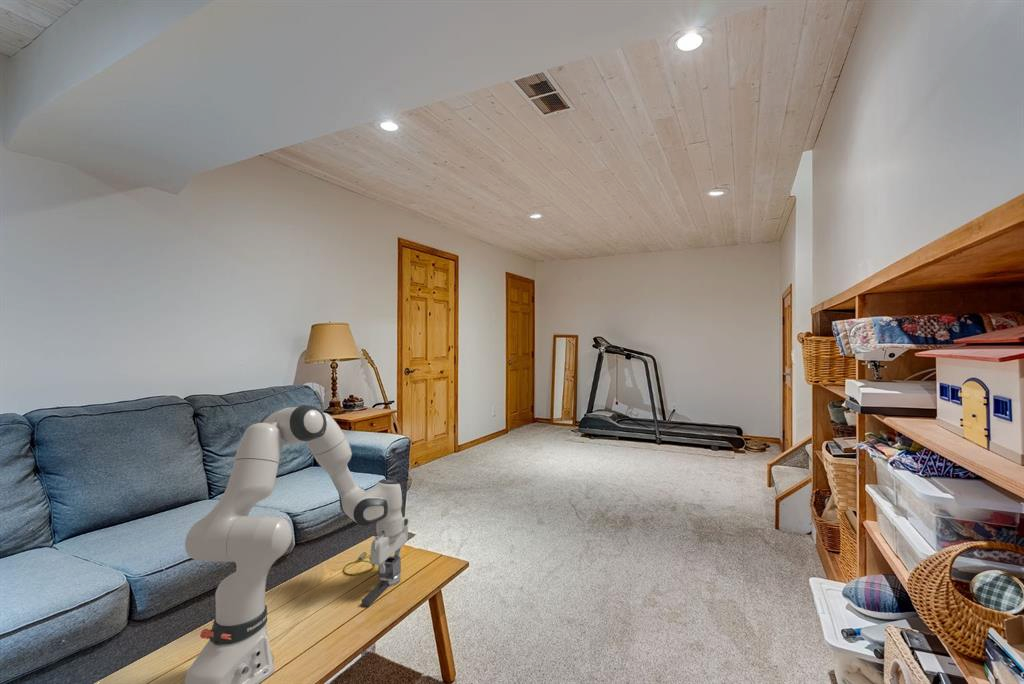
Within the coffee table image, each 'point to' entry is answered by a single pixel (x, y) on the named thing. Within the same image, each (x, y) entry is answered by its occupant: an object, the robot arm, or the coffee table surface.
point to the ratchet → (379, 590)
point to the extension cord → (359, 561)
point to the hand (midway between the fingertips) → (390, 566)
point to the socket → (391, 567)
